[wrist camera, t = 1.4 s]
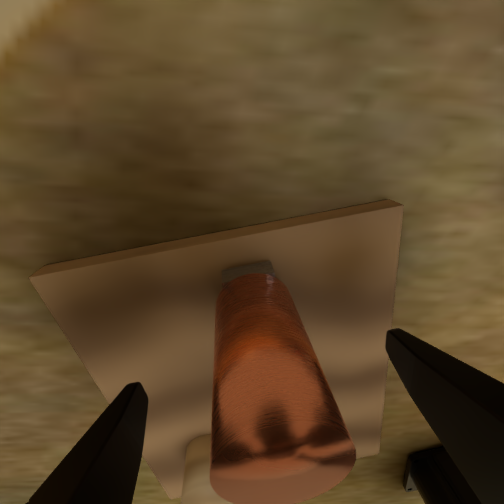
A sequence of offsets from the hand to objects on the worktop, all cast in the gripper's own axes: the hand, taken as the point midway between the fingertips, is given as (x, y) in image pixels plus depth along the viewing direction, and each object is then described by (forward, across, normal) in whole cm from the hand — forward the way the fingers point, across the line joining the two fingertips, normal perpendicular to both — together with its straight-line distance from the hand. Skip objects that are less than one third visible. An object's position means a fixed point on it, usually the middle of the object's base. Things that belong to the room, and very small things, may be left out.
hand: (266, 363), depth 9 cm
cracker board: (+6, +1, +8) cm, 10 cm away
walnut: (+5, +5, +13) cm, 15 cm away
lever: (+4, 0, +6) cm, 7 cm away
